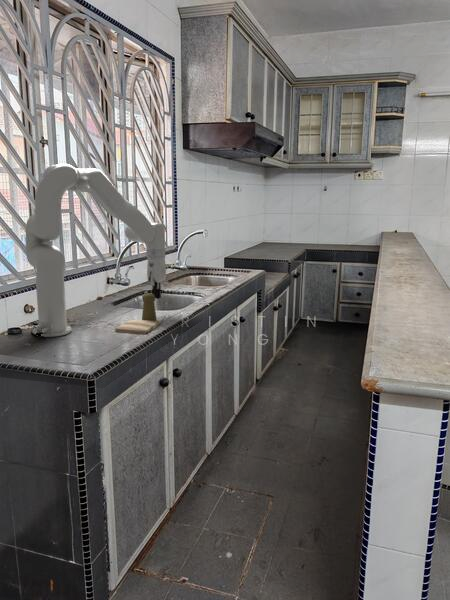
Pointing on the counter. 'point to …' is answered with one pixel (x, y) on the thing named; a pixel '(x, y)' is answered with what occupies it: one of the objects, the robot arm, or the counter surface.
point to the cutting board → (137, 326)
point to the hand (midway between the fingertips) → (156, 297)
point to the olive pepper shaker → (149, 307)
